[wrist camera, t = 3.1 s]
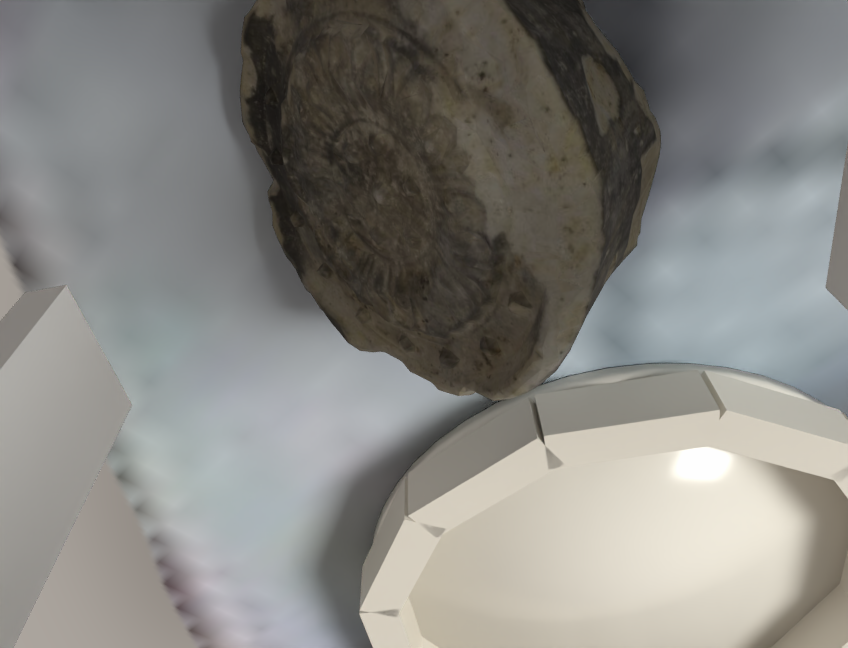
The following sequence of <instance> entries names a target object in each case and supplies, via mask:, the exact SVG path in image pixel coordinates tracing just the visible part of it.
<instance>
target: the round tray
mask: <svg viewBox="0 0 848 648" xmlns="http://www.w3.org/2000/svg"><path fill="white" fill-rule="evenodd" d="M359 614H360V617H361V619H362V622H363V624H364V627H365V629H366V632H367V634H368V637H369V639H370V642H371V644H372V647H373V648H848V418H847V417H846V415H845V414H844V413H841V411H840V410H839V409H835V408H832V407H828V406H826V405H825V404H823V403H822V402H820V401H819V400H817V399H815V398H813V397H811V396H809V395H808V394H806V393H804V392H802V391H800V390H799V389H797V388H795V387H792V386H790V385H787V384H784V383H782V382H779V381H776V380H774V379H771V378H768V377H765V376H762V375H758V374H754V373H749V372H745V371H741V370H736V369H732V368H727V367H718V366H708V365H699V364H641V365H632V366H622V367H613V368H606V369H602V370H597V371H592V372H587V373H582V374H577V375H573V376H568V377H565V378H562V379H559V380H556V381H553V382H549V383H546V384H543V385H540V386H538V387H536V388H534V389H533V390H531V391H529V392H527V393H525V394H523V395H520V396H517V397H514V398H511V399H505V400H503V401H500V402H498V403H496V404H494V405H492V406H490V407H489V408H487V409H485V410H483V411H482V412H480V413H478V414H476V415H474V416H473V417H471V418H469V419H467V420H466V421H464V422H463V423H461V424H460V425H458V426H457V427H456V428H454V429H453V430H452V431H450V432H449V433H447V434H446V435H445V436H443V437H442V438H441V439H439V440H438V441H436V442H435V443H434V444H433V445H432V446H431V447H430V448H429V449H428V450H427V451H426V452H425V453H424V454H423V455H422V456H420V457H419V458H418V459H417V460H416V461H415V462H414V463H413V464H412V466H411V467H410V468H409V469H408V471H407V472H406V473H405V474H404V476H403V477H402V478H401V479H400V481H399V482H398V483H397V484H396V486H395V488H394V489H393V491H392V493H391V495H390V496H389V498H388V500H387V502H386V503H385V505H384V507H383V509H382V512H381V515H380V517H379V520H378V523H377V526H376V529H375V533H374V539H373V545H372V547H371V549H370V551H369V553H368V555H367V557H366V559H365V562H364V564H363V566H362V579H361V595H360V611H359Z"/></svg>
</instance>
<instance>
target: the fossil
mask: <svg viewBox="0 0 848 648" xmlns="http://www.w3.org/2000/svg"><path fill="white" fill-rule="evenodd" d="M241 55H242V58H243V66H242V75H241V84H240V100H241V111H242V121H243V124H244V126H245V128H246V130H247V132H248V134H249V135H250V139H251V142H252V143H253V144H254V145H255V146H256V149H257V151H258V153H259V155H260V157H261V158H262V160H263V162H264V163H265V165H266V167H267V169H268V170H269V172H270V174H271V176H272V178H273V183H272V185H271V187H270V189H269V190H268V198H269V202H270V205H271V209H272V217H273V228H274V230H275V233H276V235H277V238H278V240H279V242H280V244H281V246H282V248H283V251H284V253H285V255H286V257H287V258H288V259H289V260H290V262H291V263H292V264H293V266H294V267H295V268H296V271H297V273H298V275H299V277H300V279H301V282H302V283H303V285H304V287H305V289H306V290H307V291H308V292H310V293H311V294H312V296H313V297H314V299H315V301H316V302H317V304H318V306H319V307H320V309H322V310H323V311H324V313H325V314H326V316H327V317H328V318H329V320H330V321H331V323H332V324H333V325H334V326H335V327H336V328H337V330H338V331H339V332H340V333H341V335H342V336H343V337H344V338H345V340H346V341H347V342H348V343H349V344H351V345H352V346H354V347H355V348H357V349H358V350H360V351H368V352H379V351H381V352H386V353H388V354H390V355H391V356H393V357H395V358H397V359H399V360H400V361H402V362H403V363H404V365H405V366H406V367H407V368H408V369H409V371H410V372H412V373H414V374H416V375H418V376H420V377H422V378H424V379H426V380H428V381H430V382H432V383H433V384H434V385H435V386H436V388H437V389H438V390H441V391H444V392H447V393H450V394H454V395H457V396H464V395H471V394H473V393H475V392H476V393H478V394H481V395H483V396H485V397H487V398H489V399H491V400H493V401H497V400H504V399H511V398H514V397H517V396H520V395H523V394H525V393H527V392H529V391H531V390H533V389H534V388H536V387H538V386H539V385H541V384H542V383H543V382H544V381H545V380H546V379H547V378H549V377H550V376H551V375H552V374H553V373H554V372H555V371H556V370H557V369H558V367H559V366H560V364H561V363H562V362H563V360H564V359H565V357H566V356H567V354H568V353H569V351H570V350H571V347H572V345H573V343H574V341H575V339H576V337H577V335H578V333H579V331H580V329H581V327H582V325H583V322H584V320H585V318H586V316H587V314H588V313H589V311H590V309H591V307H592V306H593V304H594V302H595V300H596V298H597V297H598V295H599V293H600V291H601V289H602V288H603V286H604V284H605V282H606V281H607V280H608V278H609V277H610V275H611V274H612V273H613V272H614V270H615V269H616V268H617V267H618V266H619V265H620V263H621V262H622V261H623V260H624V259H625V258H626V257H627V256H628V255H629V254H630V253H631V251H632V250H633V249H634V248H635V247H636V246H637V238H638V236H639V234H640V228H641V218H642V215H643V212H644V209H645V205H646V202H647V199H648V196H649V192H650V189H651V185H652V181H653V178H654V174H655V171H656V167H657V163H658V158H659V154H660V148H661V134H660V129H659V126H658V124H657V121H656V118H655V117H654V115H653V114H652V113H651V111H650V109H649V105H648V102H647V100H646V96H645V93H644V90H643V89H642V88H641V87H640V86H639V85H638V84H637V83H636V82H635V81H634V80H633V77H632V76H631V74H630V72H629V71H628V69H627V67H626V65H625V64H624V62H623V60H622V59H621V57H620V55H619V53H618V52H617V50H616V49H615V48H614V47H613V46H612V45H611V43H610V42H609V41H608V40H607V39H606V38H605V36H604V35H603V34H602V33H601V31H600V30H599V29H598V28H597V26H596V25H595V24H594V22H593V20H592V19H591V17H590V16H589V15H588V13H587V12H586V11H585V6H584V3H583V0H257V1H256V2H255V4H254V6H253V7H252V9H251V10H250V12H249V13H248V14H247V15H246V16H245V17H244V23H243V30H242V41H241Z"/></svg>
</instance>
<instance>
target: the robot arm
mask: <svg viewBox="0 0 848 648" xmlns="http://www.w3.org/2000/svg"><path fill="white" fill-rule="evenodd" d="M826 289H827V290H828V291H829V292H830V293H831V294H832V295H833V296H834V297H835V298H836V299H837V300H838V301H839V302H840V303H841V304H842V305H843V306H844V307H845V308H846V309H847V310H848V145H847V152H846V158H845V165H844V171H843V178H842V184H841V191H840V197H839V204H838V210H837V217H836V223H835V230H834V236H833V243H832V249H831V256H830V262H829V269H828V275H827V282H826ZM131 406H132V404H131V402H130V400H129V398H128V396H127V395H126V393H125V391H124V389H123V387H122V385H121V384H120V382H119V380H118V378H117V376H116V374H115V373H114V371H113V369H112V367H111V365H110V363H109V362H108V360H107V358H106V356H105V354H104V352H103V351H102V349H101V347H100V345H99V343H98V342H97V340H96V338H95V336H94V334H93V332H92V331H91V329H90V327H89V325H88V323H87V321H86V320H85V318H84V316H83V314H82V312H81V310H80V309H79V307H78V305H77V303H76V301H75V299H74V298H73V296H72V294H71V292H70V290H69V288H68V287H67V285H63V286H58V287H52V288H47V289H42V290H36V291H31V292H25V293H24V294H23V295H22V297H21V298H20V299H19V300H18V301H17V302H16V304H15V305H14V306H13V307H12V308H11V309H10V310H9V312H8V313H7V314H6V315H5V317H3V319H2V320H1V321H0V648H14V646H15V643H16V642H17V640H18V637H19V635H20V633H21V631H22V629H23V627H24V625H25V623H26V621H27V619H28V617H29V615H30V613H31V611H32V609H33V607H34V605H35V603H36V601H37V599H38V596H39V595H40V593H41V590H42V588H43V586H44V584H45V582H46V580H47V578H48V576H49V574H50V572H51V570H52V568H53V566H54V564H55V562H56V560H57V558H58V556H59V554H60V551H61V550H62V547H63V546H64V543H65V541H66V539H67V537H68V535H69V533H70V531H71V529H72V527H73V525H74V523H75V521H76V519H77V517H78V515H79V513H80V510H81V509H82V507H83V505H84V503H85V501H86V498H87V496H88V494H89V492H90V490H91V488H92V486H93V484H94V482H95V480H96V478H97V476H98V474H99V472H100V470H101V468H102V466H103V464H104V462H105V460H106V458H107V456H108V453H109V451H110V449H111V447H112V445H113V443H114V441H115V439H116V437H117V435H118V433H119V431H120V429H121V427H122V425H123V423H124V421H125V419H126V417H127V415H128V413H129V411H130V408H131Z"/></svg>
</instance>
